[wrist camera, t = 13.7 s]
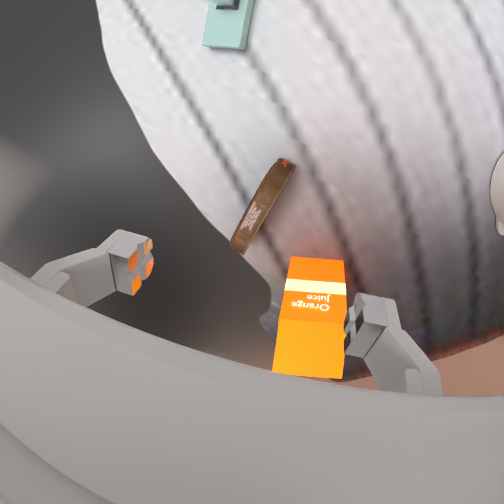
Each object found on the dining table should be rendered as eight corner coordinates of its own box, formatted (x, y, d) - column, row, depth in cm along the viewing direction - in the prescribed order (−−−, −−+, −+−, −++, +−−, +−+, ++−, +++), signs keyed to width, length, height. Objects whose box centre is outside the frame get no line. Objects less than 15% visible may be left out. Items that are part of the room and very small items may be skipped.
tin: (253, 238, 47) (240, 268, 40) (236, 228, 46) (220, 257, 39) (300, 159, 38) (295, 177, 31) (280, 148, 38) (271, 163, 31)
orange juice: (337, 295, 49) (336, 393, 33) (289, 291, 51) (270, 387, 34) (343, 259, 45) (349, 359, 28) (290, 255, 47) (270, 353, 30)
